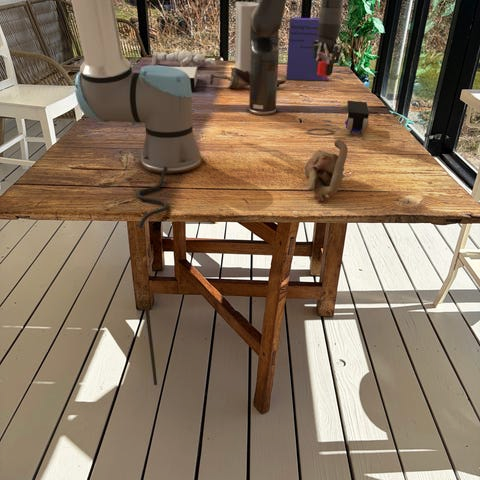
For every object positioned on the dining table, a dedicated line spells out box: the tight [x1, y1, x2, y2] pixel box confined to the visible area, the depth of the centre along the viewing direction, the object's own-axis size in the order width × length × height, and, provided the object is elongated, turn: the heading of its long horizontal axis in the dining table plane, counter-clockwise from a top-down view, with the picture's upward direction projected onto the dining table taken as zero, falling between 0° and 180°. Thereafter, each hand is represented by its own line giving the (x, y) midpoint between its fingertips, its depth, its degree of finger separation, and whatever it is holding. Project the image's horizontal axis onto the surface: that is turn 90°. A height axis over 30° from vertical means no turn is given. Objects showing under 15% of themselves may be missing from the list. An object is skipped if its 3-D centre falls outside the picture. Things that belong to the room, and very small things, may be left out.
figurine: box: [209, 66, 287, 89], centre depth 190 cm, size 24×8×30 cm
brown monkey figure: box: [303, 139, 349, 202], centre depth 108 cm, size 13×9×15 cm
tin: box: [317, 61, 331, 77], centre depth 170 cm, size 5×5×4 cm
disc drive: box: [172, 66, 198, 92], centre depth 194 cm, size 18×22×5 cm
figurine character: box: [344, 100, 370, 136], centre depth 146 cm, size 7×8×15 cm
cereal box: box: [285, 17, 331, 82], centre depth 201 cm, size 17×5×24 cm, turn 86°
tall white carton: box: [234, 1, 259, 72], centre depth 210 cm, size 19×15×28 cm
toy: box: [151, 50, 218, 68], centre depth 224 cm, size 24×25×7 cm
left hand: (148, 0), depth 141 cm, fingers open, 13 cm apart
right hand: (323, 73), depth 171 cm, fingers closed on tin, 4 cm apart
